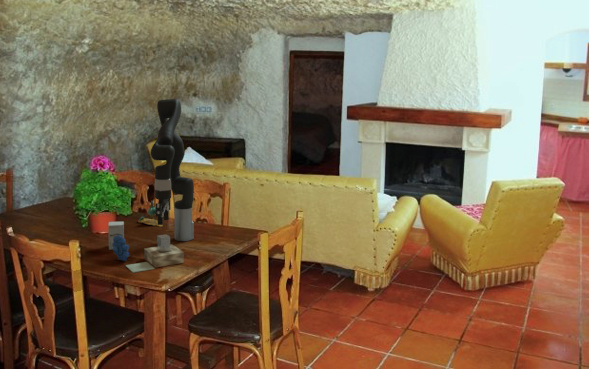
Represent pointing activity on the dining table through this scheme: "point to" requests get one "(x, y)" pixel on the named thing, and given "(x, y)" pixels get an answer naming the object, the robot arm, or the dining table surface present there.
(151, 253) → the holder
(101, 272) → the dining table surface
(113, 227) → the supplement box
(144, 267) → the mat
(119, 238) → the grapes
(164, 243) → the peg
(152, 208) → the frog figurine
